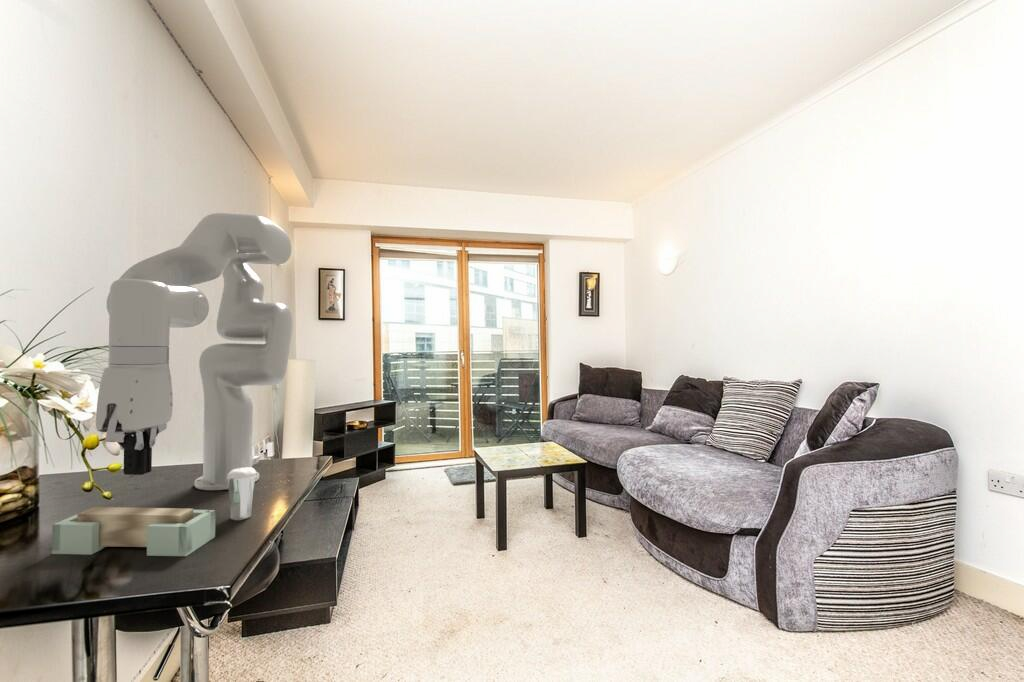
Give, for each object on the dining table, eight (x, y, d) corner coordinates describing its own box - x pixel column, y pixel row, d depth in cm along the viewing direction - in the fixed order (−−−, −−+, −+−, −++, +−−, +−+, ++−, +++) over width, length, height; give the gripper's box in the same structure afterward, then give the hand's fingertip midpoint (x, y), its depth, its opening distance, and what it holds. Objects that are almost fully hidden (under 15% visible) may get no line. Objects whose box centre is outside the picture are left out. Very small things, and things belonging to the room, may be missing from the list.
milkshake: (256, 509, 90) (256, 458, 90) (254, 519, 85) (255, 465, 85) (228, 513, 88) (229, 460, 88) (225, 523, 83) (226, 467, 83)
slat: (76, 545, 73) (77, 513, 73) (94, 537, 76) (94, 506, 76) (179, 547, 73) (180, 515, 73) (192, 539, 76) (193, 508, 76)
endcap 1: (52, 553, 71) (52, 524, 71) (92, 534, 78) (93, 507, 78) (91, 554, 71) (91, 525, 71) (128, 535, 78) (129, 508, 78)
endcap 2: (215, 536, 78) (215, 510, 78) (186, 556, 71) (186, 526, 71) (179, 536, 78) (179, 509, 78) (146, 555, 71) (147, 526, 71)
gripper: (152, 356, 82) (150, 460, 82) (71, 359, 67) (69, 487, 67) (195, 356, 82) (193, 461, 82) (124, 360, 67) (121, 488, 67)
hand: (137, 473), depth 74 cm, fingers closed
